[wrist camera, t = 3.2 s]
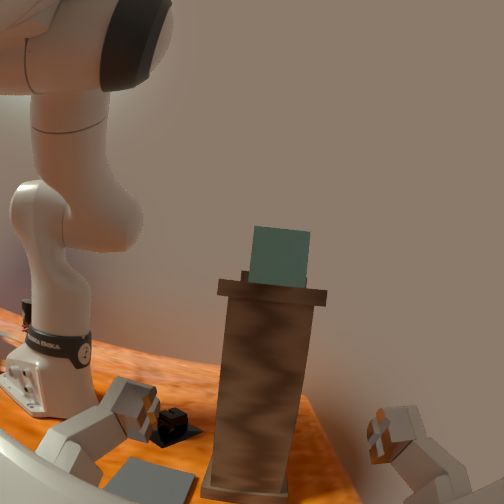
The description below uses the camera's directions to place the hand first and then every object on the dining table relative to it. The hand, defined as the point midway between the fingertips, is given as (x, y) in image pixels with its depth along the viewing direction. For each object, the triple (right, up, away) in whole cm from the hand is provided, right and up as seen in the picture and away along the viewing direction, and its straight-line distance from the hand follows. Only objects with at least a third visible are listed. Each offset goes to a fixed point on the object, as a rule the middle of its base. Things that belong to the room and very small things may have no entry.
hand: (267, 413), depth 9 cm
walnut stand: (-1, -24, +21) cm, 32 cm away
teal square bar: (+2, +2, +19) cm, 20 cm away
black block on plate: (-14, -25, +30) cm, 41 cm away
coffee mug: (-72, -21, +60) cm, 96 cm away
